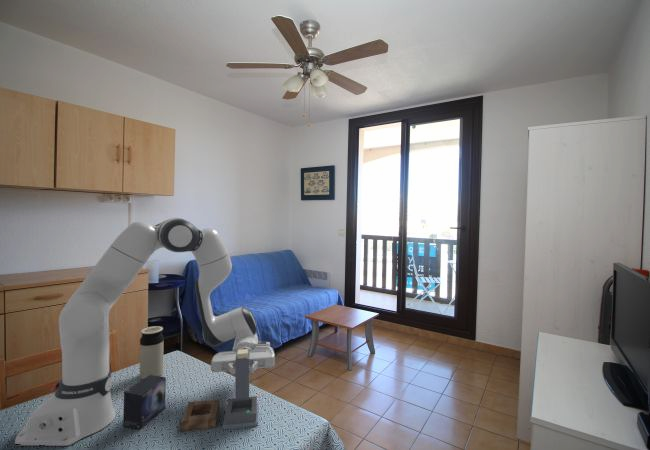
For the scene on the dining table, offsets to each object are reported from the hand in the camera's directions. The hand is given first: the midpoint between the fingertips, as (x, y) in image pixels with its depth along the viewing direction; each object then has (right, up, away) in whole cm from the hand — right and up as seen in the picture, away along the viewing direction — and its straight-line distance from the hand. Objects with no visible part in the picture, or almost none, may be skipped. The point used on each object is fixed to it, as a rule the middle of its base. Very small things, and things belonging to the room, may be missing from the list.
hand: (242, 371), depth 94 cm
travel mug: (-42, -14, +25) cm, 51 cm away
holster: (-12, -14, 0) cm, 19 cm away
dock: (-1, -14, +1) cm, 15 cm away
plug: (0, -7, +1) cm, 8 cm away
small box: (-30, -14, 0) cm, 33 cm away
